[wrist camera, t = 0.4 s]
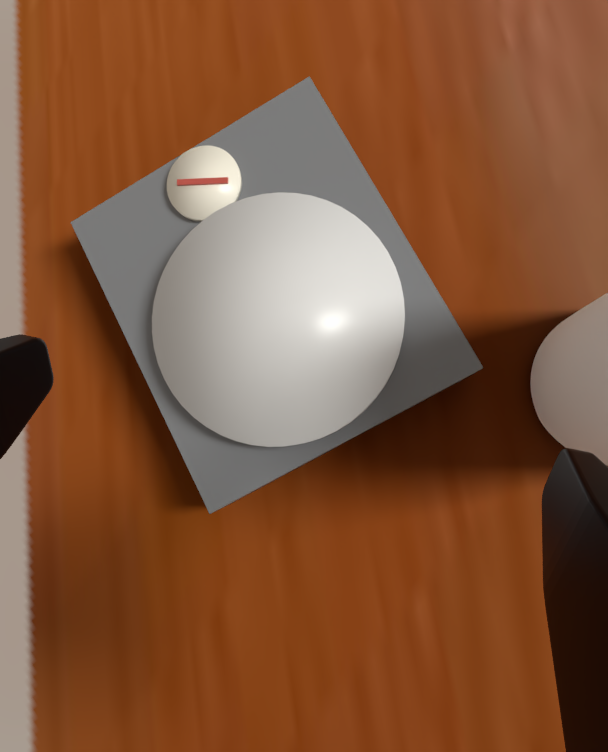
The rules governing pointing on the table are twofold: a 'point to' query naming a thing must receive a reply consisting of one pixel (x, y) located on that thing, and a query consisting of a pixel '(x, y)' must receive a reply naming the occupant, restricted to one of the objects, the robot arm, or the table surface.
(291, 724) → the table surface
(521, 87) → the table surface
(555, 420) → the can
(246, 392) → the scale
